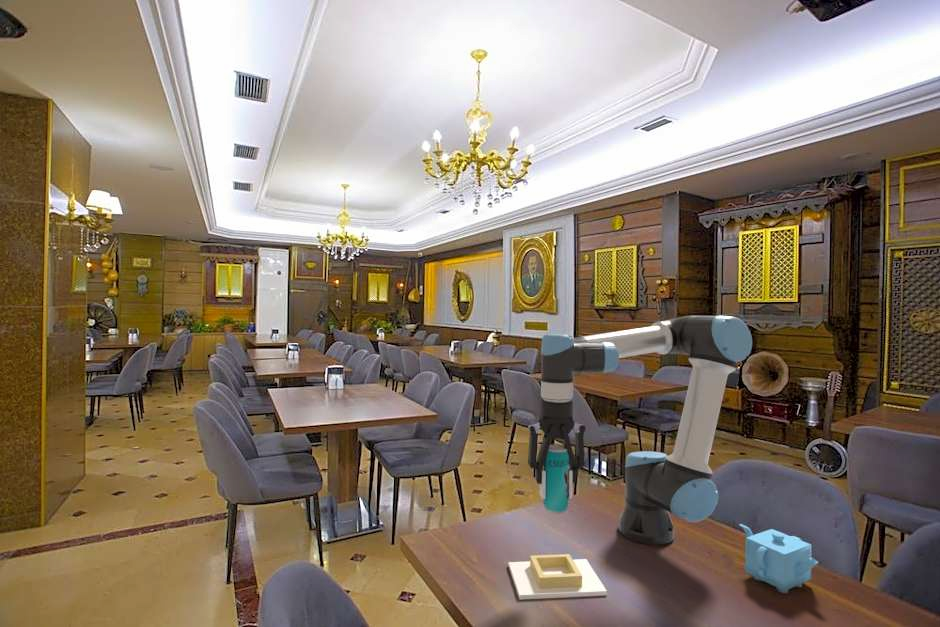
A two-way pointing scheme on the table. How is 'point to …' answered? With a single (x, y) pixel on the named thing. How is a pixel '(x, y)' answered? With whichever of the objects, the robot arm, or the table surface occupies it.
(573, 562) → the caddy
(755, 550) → the teapot
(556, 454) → the beverage can
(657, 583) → the table surface
